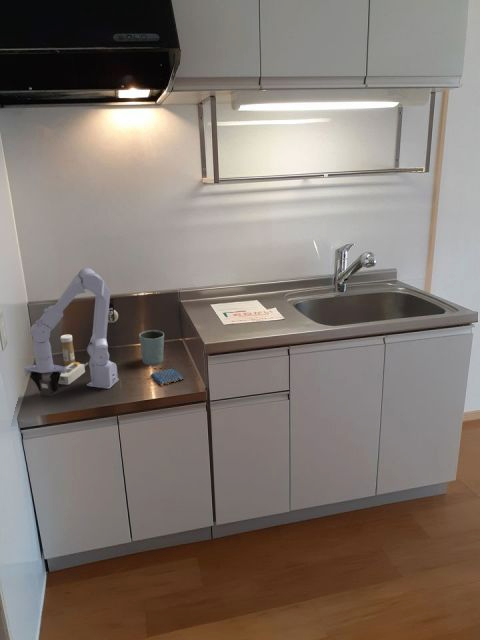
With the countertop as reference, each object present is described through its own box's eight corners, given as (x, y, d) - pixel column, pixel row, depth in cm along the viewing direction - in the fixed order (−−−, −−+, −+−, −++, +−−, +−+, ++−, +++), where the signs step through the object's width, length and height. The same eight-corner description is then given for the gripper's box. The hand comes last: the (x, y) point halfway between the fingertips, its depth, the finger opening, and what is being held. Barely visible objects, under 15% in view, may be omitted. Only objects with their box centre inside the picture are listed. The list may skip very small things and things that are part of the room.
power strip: (94, 364, 212) (93, 355, 211) (68, 384, 195) (67, 375, 194) (82, 363, 214) (81, 354, 212) (55, 383, 197) (54, 373, 195)
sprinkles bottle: (77, 367, 210) (73, 336, 206) (66, 369, 208) (61, 339, 203) (73, 363, 214) (70, 333, 209) (62, 365, 212) (58, 335, 207)
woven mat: (185, 381, 199) (185, 376, 198) (160, 388, 193) (160, 383, 193) (174, 371, 207) (174, 367, 206) (149, 378, 202) (149, 373, 201)
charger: (61, 388, 192) (59, 374, 190) (50, 396, 186) (48, 382, 184) (51, 387, 193) (49, 373, 191) (41, 395, 187) (38, 380, 185)
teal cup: (138, 358, 218) (136, 332, 214) (161, 354, 222) (160, 328, 218) (144, 367, 209) (142, 340, 205) (168, 363, 213) (167, 336, 209)
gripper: (67, 351, 187) (72, 385, 191) (28, 351, 187) (33, 384, 192) (60, 359, 180) (65, 394, 185) (19, 359, 181) (25, 393, 185)
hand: (48, 390), depth 188 cm, fingers closed on charger, 5 cm apart
